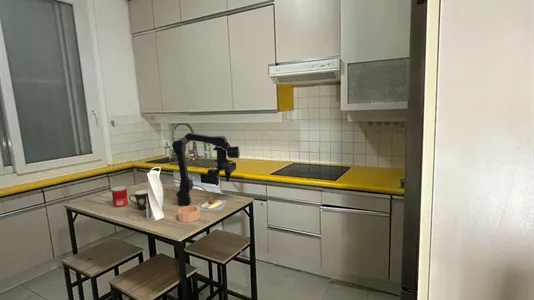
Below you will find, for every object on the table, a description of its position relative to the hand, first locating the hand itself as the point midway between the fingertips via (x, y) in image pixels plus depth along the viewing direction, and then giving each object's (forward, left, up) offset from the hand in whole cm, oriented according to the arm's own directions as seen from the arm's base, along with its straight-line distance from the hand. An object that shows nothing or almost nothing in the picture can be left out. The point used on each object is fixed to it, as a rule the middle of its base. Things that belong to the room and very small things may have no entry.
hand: (222, 183), depth 173 cm
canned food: (-64, +1, -13) cm, 66 cm away
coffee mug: (-48, -4, -13) cm, 50 cm away
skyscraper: (-32, -19, -14) cm, 40 cm away
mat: (-7, -1, -13) cm, 15 cm away
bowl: (-14, -20, -13) cm, 28 cm away
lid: (-7, -1, -13) cm, 15 cm away
